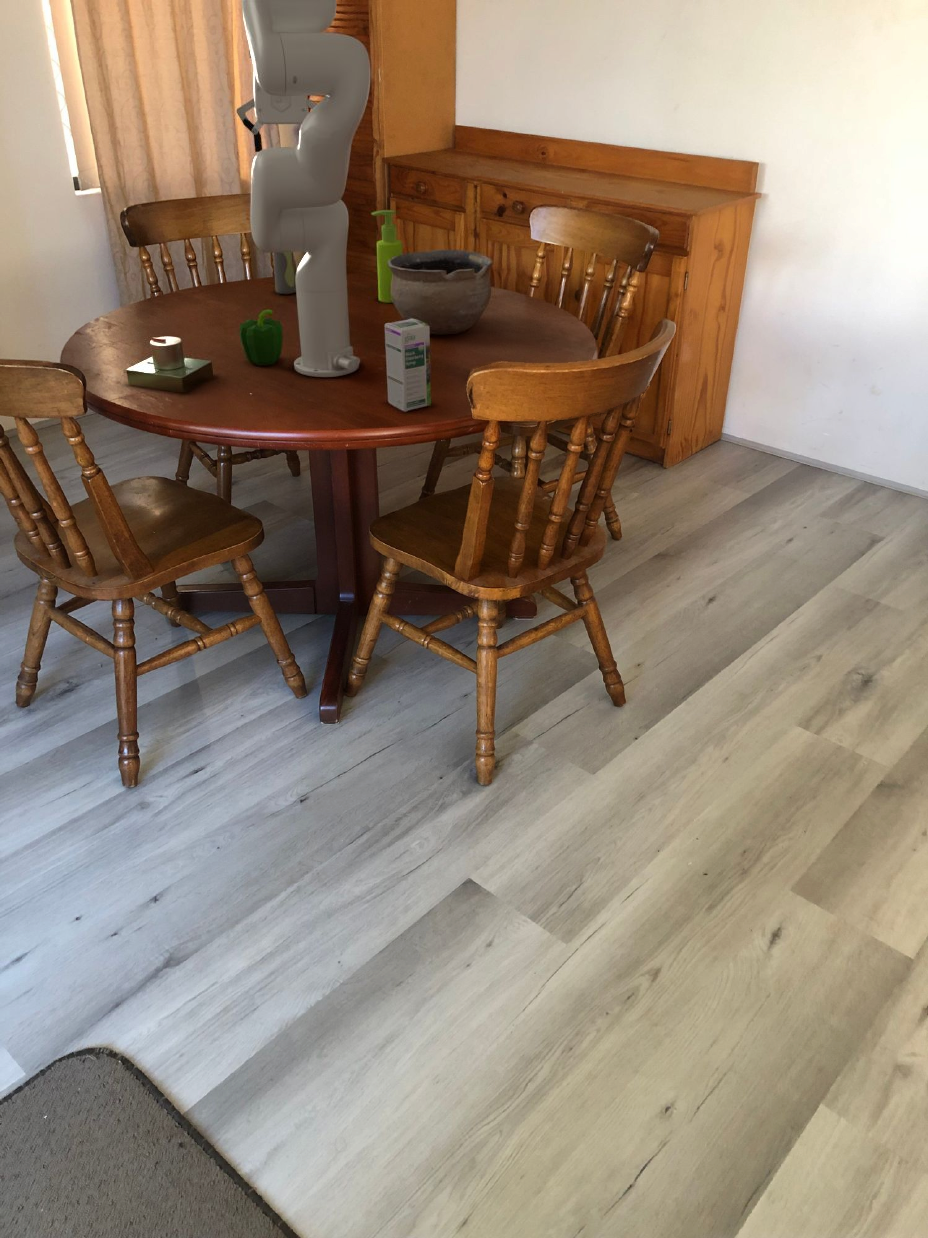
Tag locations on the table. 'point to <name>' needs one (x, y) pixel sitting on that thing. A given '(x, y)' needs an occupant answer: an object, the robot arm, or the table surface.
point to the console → (170, 375)
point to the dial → (167, 353)
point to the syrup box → (408, 364)
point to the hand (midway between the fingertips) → (285, 155)
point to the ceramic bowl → (441, 288)
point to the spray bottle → (284, 273)
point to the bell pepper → (262, 339)
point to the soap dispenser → (386, 255)
